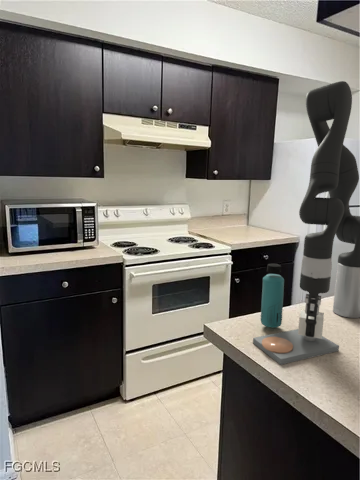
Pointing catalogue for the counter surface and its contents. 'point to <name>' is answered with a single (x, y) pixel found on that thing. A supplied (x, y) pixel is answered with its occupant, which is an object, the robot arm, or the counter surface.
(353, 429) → the counter surface
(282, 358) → the post board
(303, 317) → the off-white matte cube
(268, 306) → the beverage bottle
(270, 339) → the tan flat disc
